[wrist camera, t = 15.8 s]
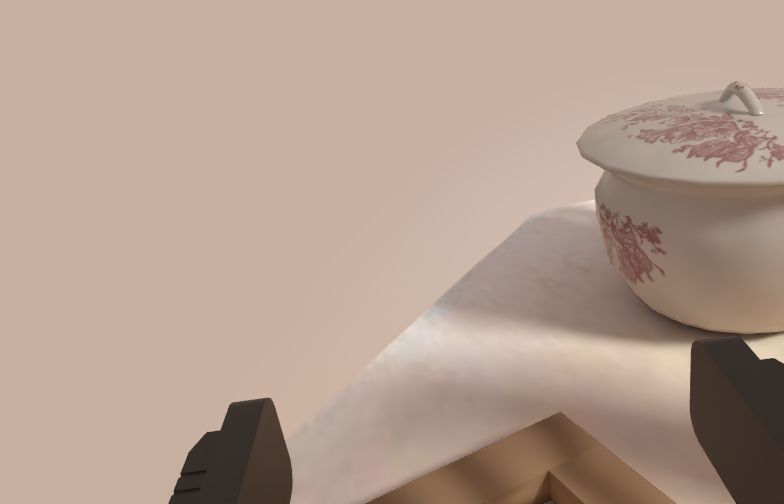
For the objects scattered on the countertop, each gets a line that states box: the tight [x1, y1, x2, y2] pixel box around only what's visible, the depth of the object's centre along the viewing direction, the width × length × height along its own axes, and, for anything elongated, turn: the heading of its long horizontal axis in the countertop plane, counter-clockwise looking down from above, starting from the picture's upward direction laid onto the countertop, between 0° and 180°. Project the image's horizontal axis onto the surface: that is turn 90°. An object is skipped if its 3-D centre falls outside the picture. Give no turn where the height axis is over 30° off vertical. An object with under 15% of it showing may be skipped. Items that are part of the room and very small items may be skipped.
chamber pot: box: [576, 81, 784, 334], centre depth 62 cm, size 28×28×21 cm
